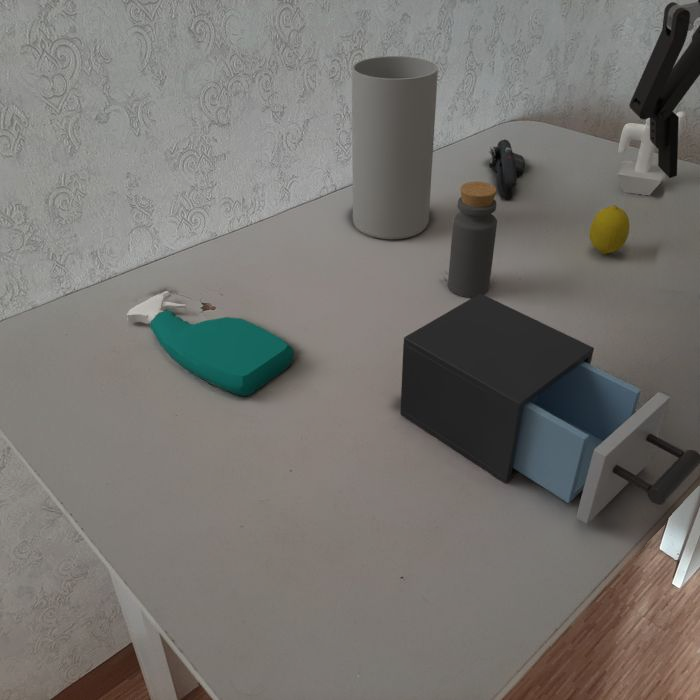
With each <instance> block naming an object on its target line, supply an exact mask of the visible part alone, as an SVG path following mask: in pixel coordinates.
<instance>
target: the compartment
mask: <svg viewBox="0 0 700 700" xmlns="http://www.w3.org/2000/svg"><path fill="white" fill-rule="evenodd" d="M641 394H642V389H640V388H639V387H637V386H634V385H632V384H630V383H629V382H626V381H624V380H622V379H621V378H618V377H617V376H614V375H613V374H610V373H608V372H606V371H604V370H602V369H600V368H598V367H596V366H594V365H592V364H591V363H590V364H588V363H586V362H584V361H583V362H581V363H580V364H579V365H577V366H576V367H575V368H573V369H572V370H571V371H569V372H568V373H567V374H566V375H564V376H563V377H562V378H560V379H559V380H558V381H556V382H555V383H554V384H552V385H551V386H550V387H548V388H547V389H546V390H544V391H543V392H542V393H540V394H539V395H538V396H536V397H535V398H534V399H533V400H531V401H530V402H529V403H527V404H526V405H525V406H523V413H522V419H521V424H520V430H519V436H518V441H517V447H516V452H515V458H514V464H513V468H514V469H516V470H517V471H519V472H520V473H519V474H522V475H523V476H524V477H526V478H528V479H530V480H531V481H533V482H534V483H536V484H537V485H539V486H540V487H542V488H544V489H545V490H547V491H549V492H550V493H552V494H553V495H555V496H556V497H558V498H560V499H561V500H562V501H563V502H566V503H567V504H569V503H570V502H572V500H574V499H575V498H576V497H577V496H578V495H579V494H580V493H581V492H582V493H581V497H580V501H579V504H578V509H577V512H576V515H575V516H576V517H575V518H577V519H578V520H579V521H581V522H583V523H584V524H586V525H588V524H589V523H590V522H591V521H592V520H593V519H594V518H595V517H596V516H597V515H598V514H599V513H600V512H601V511H602V510H603V509H604V508H605V507H606V506H607V505H609V503H610V502H611V501H612V500H613V499H614V498H615V497H616V496H617V495H618V494H619V493H620V492H621V491H622V490H623V489H624V488H626V486H627V485H628V484H632V485H633V486H635V487H637V488H639V489H640V490H642V491H644V492H645V493H646V496H647V498H648V500H649V501H650V502H651V503H653V504H655V505H658V506H659V505H664V503H665V502H666V501H667V500H668V499H669V498H670V497H671V496H672V495H673V494H674V492H676V490H677V489H678V488H679V487H680V486H681V485H682V484H683V483H684V482H685V481H686V480H687V479H688V478H689V476H690V475H691V474H692V473H693V472H694V471H695V470H696V469H697V468H698V467H699V466H700V453H699V452H698V451H696V450H694V449H687V450H685V451H684V450H683V449H681V448H680V447H678V446H675V445H674V444H671V443H670V442H667V441H666V440H663V439H662V438H660V437H658V435H659V434H660V429H661V427H662V423H663V420H664V417H665V414H666V412H667V409H668V405H669V402H670V400H671V397H670V396H668V395H667V394H664V393H662V392H660V391H658V392H657V393H656V394H654V395H653V396H652V397H651V398H649V400H648V401H646V402H645V404H643V405H642V406H641V407H640V408H639V409H638V410H636V409H637V406H638V403H639V400H640V398H641V397H640V396H641ZM654 447H656V448H659V449H661V450H663V451H665V452H666V453H668V454H670V455H672V456H674V457H676V458H677V459H676V460H675V461H674V462H673V463H672V465H671V466H669V468H668V469H666V471H665V472H663V474H661V476H660V477H659V478H658V479H657V480H656V481H655V482H654V483H653V484H651V483H649V482H647V480H644V479H643V478H641V477H640V476H637V475H639V473H640V472H642V470H644V468H646V466H648V464H649V463H650V460H651V459H650V458H651V456H652V454H653V450H654Z"/></svg>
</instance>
